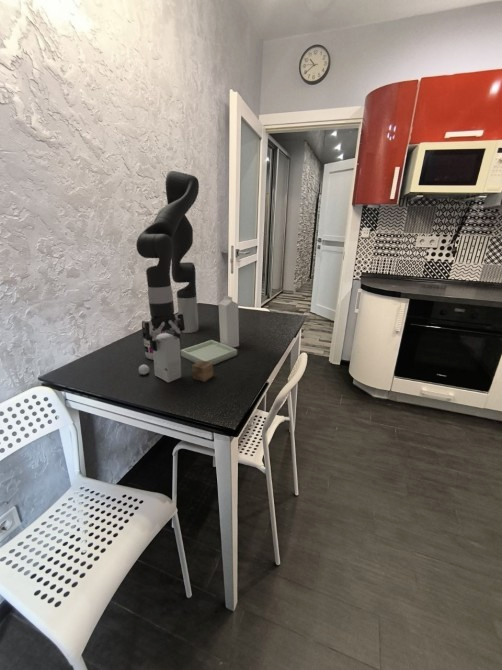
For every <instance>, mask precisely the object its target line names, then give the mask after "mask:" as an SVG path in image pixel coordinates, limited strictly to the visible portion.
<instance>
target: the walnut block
mask: <svg viewBox="0 0 502 670" xmlns="http://www.w3.org/2000/svg"><path fill="white" fill-rule="evenodd" d="M213 366H214V365H213V363H211V362H207V361H203V360H200V361H199V362H197V363H195V362H194V364H192V365H191V370H192V379H194V380H197V381H201V382H206V381H208V380H210V379H211V378H212V377H214V367H213Z"/></svg>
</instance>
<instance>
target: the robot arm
mask: <svg viewBox="0 0 502 670" xmlns="http://www.w3.org/2000/svg"><path fill="white" fill-rule="evenodd" d="M165 177H166V178H165V194H166V200H167V204H166V205H164V206H163V207H162V208H161V209H160V210H159V211H158V213H157V214H156V217H155V219H154V221H153V222H152V223H151V224H150V225H148V226H147V227H146V228H145V229H144V230H143V231H141V233H140V234H139V235H138V238H137V240H136V244H135V245H136V251H137V253H138V254H139V255H140V257H142V258H145V259H158V262H157V264H155V265H153V266H149V267H147V269H146V272H145V275H146V283H147V297H148V305H149V313H150V314H149V315H150V318H151V320H150V321H144V320H142V322H141V331H142V338H143V339H146V340H147V341H150V348H151V349H152V350H153V351H157V343H156V340H155V339H156V337H157V336H158V335H159V333H160V332H162V331H164V332H165V331H169V330H171V331H173V336H175V337H177V338H179V339H180V342H181V333H183V334H189V333H197V332H198V331H199V330H200V328H199V312H198V299H197V298H198V297H197V285H196V284H197V282H196V266H195V263H193V262H192V261H191V262H190V261H189V262H181V261H182V259H183V258H184V257H185V255H187V253H188V252H189V251H190V249H191V247H192V246H193V242H194V241H193V240H194V229H193V226H192V224H191V222H190V221H189V218H188V217H187V216H186V214H187V213H188V211H189V210H191V207H192V206H193V205H194V203H195V202H196V200H197V198H198V196H199V188H200V185H199V183H200V182H199V179H198V178H197V177H196V176H194V175H192V174H188V173H184V172H182V171H181V172H180V171H177V170H169V171H168V172H167V174H166V176H165ZM171 276H172V278H171ZM171 279H172V280H173V282H174V283H176V284H177V283H178V284H181V283H183V284H184V283H188V284H187V285H186V286H184V287H183V288H181V289H178V290H177V291H176V298H177V299H176V300H177V301H176V302H177V309H178V310H177V312H176V313H175V305H174V295H173V289H172V284H171V282H172V281H171ZM174 313H175V314H174ZM175 320H176V324H175ZM151 324H152V325H153V327H152V329H151V333H150V329H149V328H150V327H151ZM156 329H157V330H156ZM155 330H156V331H155Z"/></svg>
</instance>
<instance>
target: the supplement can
mask: <svg viewBox="0 0 502 670" xmlns="http://www.w3.org/2000/svg"><path fill="white" fill-rule="evenodd" d="M150 320H151V317H150V318H146V319H144V320H143V321H150ZM152 327H153V325H152V324H151V327H150V328H149V329H150V333H151V329H152ZM156 330H157V329H156ZM156 330H155V331H156ZM162 333H166V332H165V331H162V332H160V333H159V334H162ZM143 345H144V353H145V354H144V355H145V357H146V358H147V359H148V360H153V361H154V358H153V350H152V349H151V348H150V341H147V340H146V339H143Z"/></svg>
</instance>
